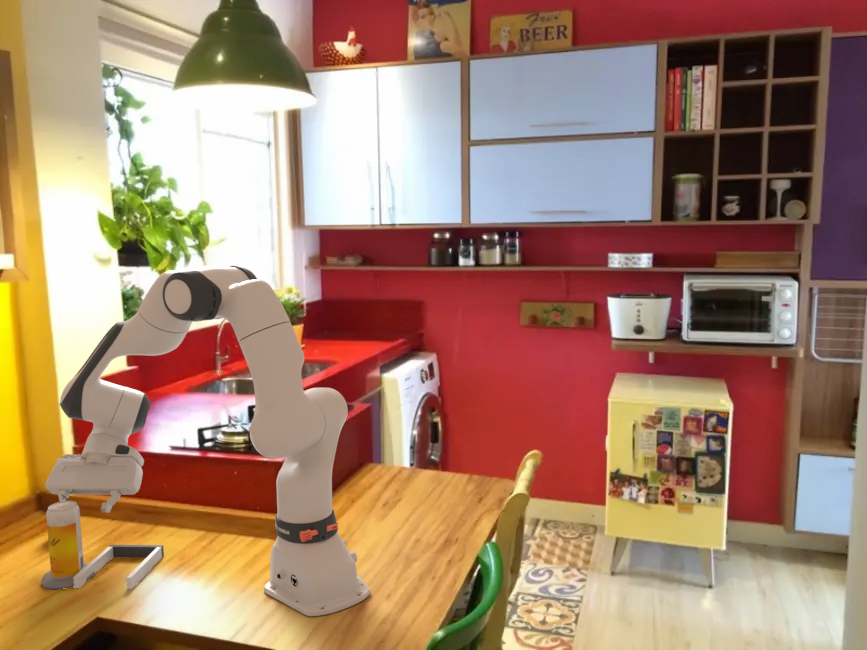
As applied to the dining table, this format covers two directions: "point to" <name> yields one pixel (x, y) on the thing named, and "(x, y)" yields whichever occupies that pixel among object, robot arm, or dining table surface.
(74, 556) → the beer can
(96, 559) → the channel
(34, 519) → the dining table surface
